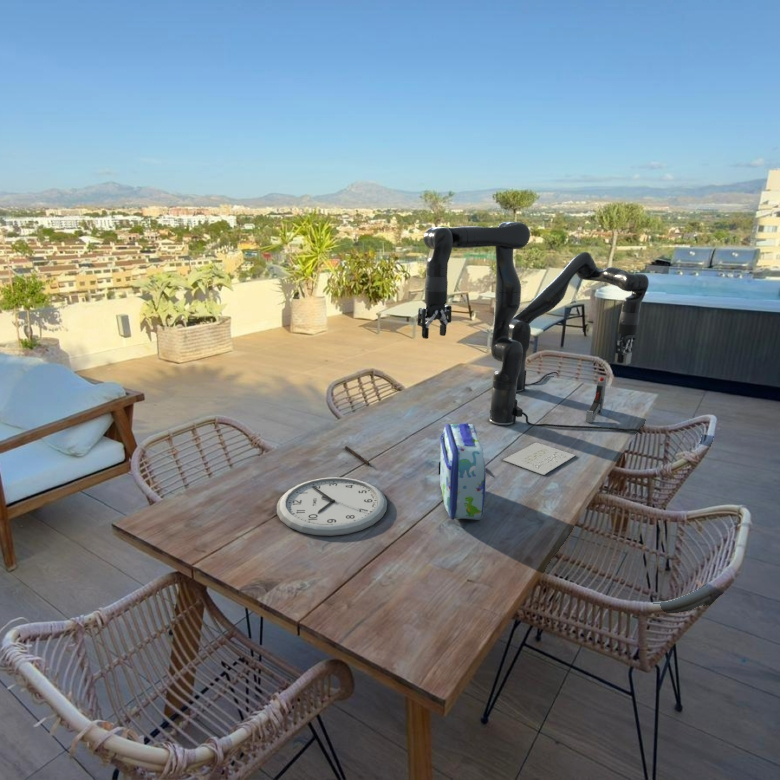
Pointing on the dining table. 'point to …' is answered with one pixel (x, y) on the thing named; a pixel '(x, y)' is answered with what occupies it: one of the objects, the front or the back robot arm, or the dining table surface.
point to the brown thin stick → (357, 455)
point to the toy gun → (597, 401)
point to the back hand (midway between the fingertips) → (622, 362)
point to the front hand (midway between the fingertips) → (434, 336)
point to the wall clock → (331, 506)
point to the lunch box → (462, 472)
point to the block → (625, 358)
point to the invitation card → (539, 458)
